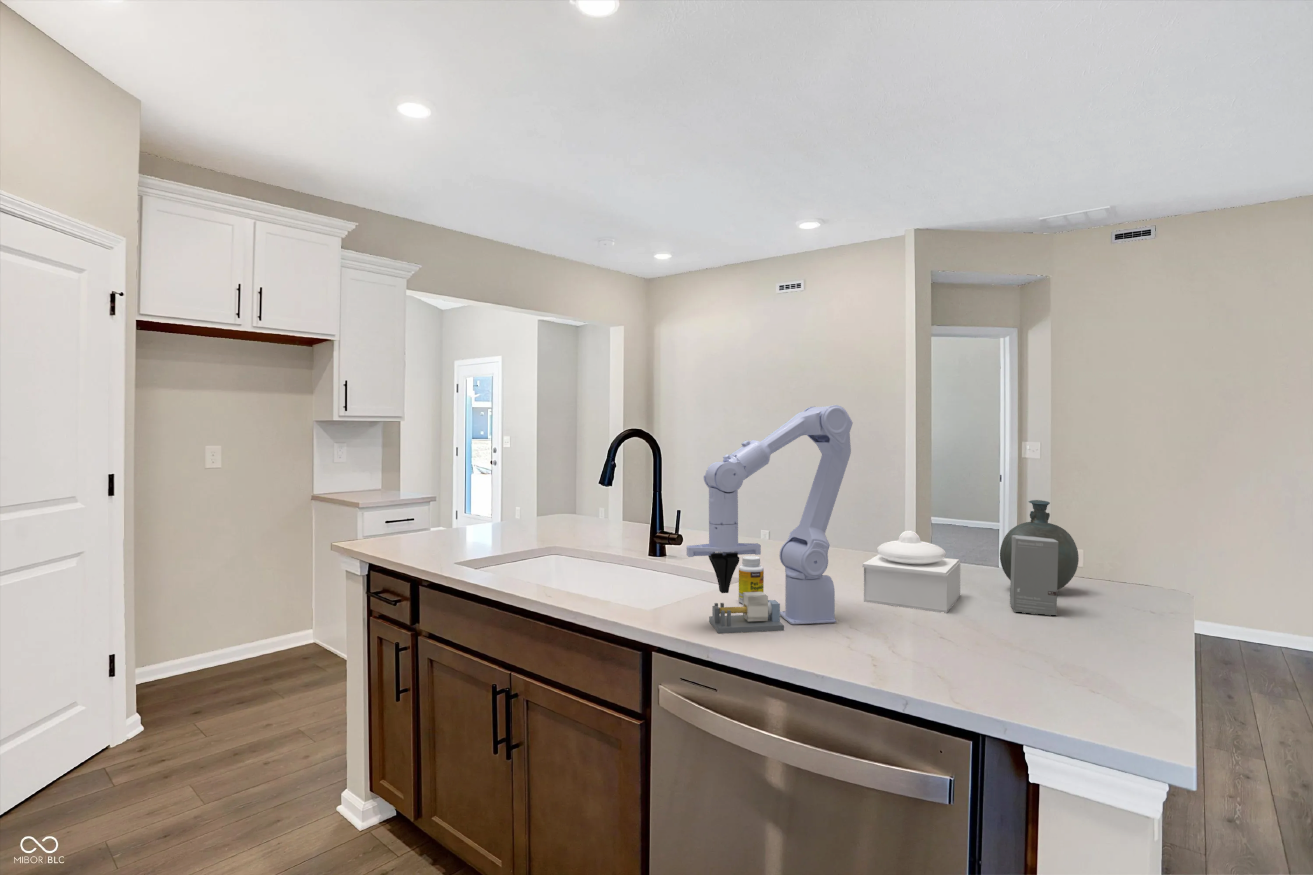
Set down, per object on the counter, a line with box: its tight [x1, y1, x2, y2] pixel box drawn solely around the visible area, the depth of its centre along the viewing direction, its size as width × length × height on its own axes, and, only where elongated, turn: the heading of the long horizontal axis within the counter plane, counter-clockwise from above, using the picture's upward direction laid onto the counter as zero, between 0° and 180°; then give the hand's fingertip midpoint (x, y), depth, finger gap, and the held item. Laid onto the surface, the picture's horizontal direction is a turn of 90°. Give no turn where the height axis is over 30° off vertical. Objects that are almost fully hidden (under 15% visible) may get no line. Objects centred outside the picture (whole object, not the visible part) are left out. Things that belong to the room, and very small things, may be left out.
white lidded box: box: [862, 529, 961, 614], centre depth 150 cm, size 18×18×16 cm
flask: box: [999, 499, 1079, 591], centre depth 156 cm, size 12×17×22 cm
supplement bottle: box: [738, 555, 765, 605], centre depth 147 cm, size 6×6×10 cm
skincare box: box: [1009, 535, 1058, 616], centre depth 140 cm, size 8×7×16 cm
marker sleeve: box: [742, 591, 769, 621], centre depth 129 cm, size 4×4×5 cm
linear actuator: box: [708, 599, 785, 634], centre depth 129 cm, size 13×8×4 cm, turn 98°
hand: (723, 591), depth 129 cm, fingers closed
